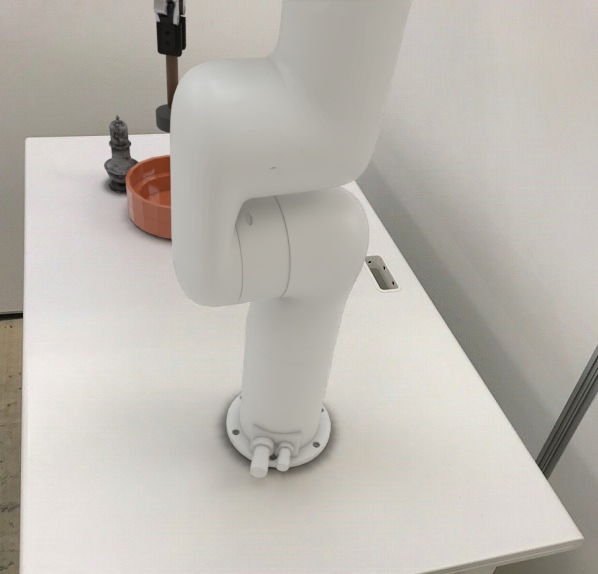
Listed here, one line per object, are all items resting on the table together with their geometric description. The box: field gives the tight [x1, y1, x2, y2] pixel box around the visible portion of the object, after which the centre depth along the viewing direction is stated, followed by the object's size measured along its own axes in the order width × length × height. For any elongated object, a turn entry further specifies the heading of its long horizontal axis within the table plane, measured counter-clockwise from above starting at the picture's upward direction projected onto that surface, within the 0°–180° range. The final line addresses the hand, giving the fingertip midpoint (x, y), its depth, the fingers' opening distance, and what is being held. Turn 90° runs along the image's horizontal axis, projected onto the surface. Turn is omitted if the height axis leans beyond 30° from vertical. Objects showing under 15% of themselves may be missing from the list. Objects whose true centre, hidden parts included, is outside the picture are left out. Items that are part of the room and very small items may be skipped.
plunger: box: [155, 4, 179, 134], centre depth 88 cm, size 5×5×16 cm
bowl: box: [126, 154, 172, 240], centre depth 104 cm, size 16×16×6 cm
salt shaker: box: [103, 114, 140, 194], centre depth 105 cm, size 6×6×12 cm
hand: (172, 50), depth 86 cm, fingers closed on plunger
